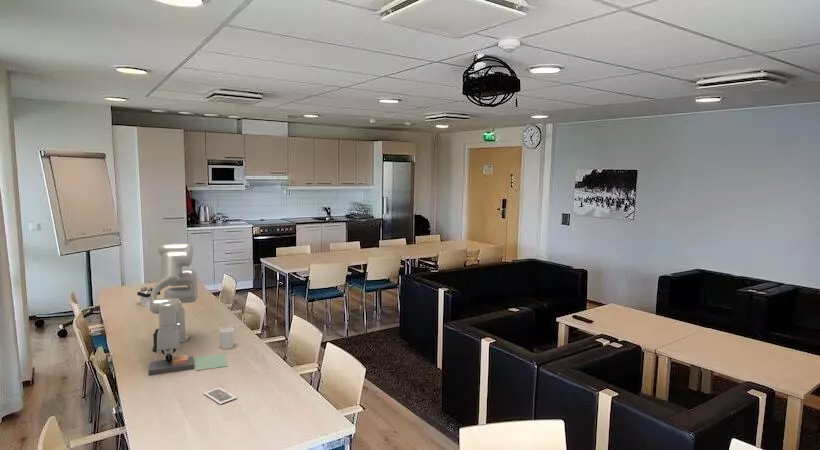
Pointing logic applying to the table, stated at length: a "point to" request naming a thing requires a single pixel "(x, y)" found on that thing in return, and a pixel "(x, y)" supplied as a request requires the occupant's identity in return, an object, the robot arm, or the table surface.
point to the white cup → (227, 338)
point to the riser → (169, 366)
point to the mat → (210, 362)
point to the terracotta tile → (180, 360)
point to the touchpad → (220, 395)
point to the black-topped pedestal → (145, 296)
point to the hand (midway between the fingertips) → (169, 362)
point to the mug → (155, 341)
